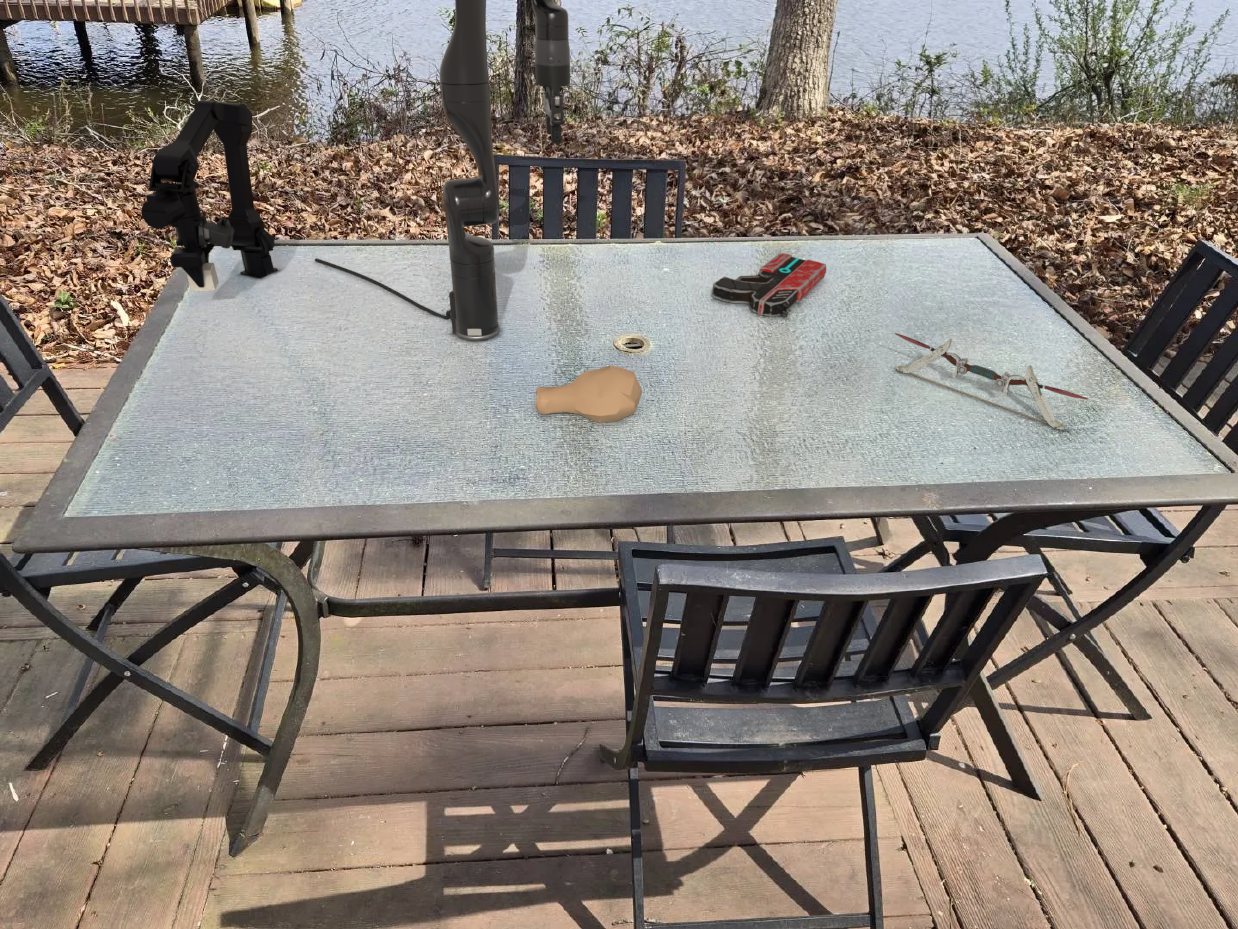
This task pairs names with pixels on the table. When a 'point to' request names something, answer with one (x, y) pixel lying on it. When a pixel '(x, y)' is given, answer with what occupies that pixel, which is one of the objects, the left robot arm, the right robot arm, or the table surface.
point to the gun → (772, 285)
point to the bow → (1000, 381)
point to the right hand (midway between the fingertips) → (553, 138)
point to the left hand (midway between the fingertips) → (203, 282)
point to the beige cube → (206, 279)
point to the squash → (594, 395)
